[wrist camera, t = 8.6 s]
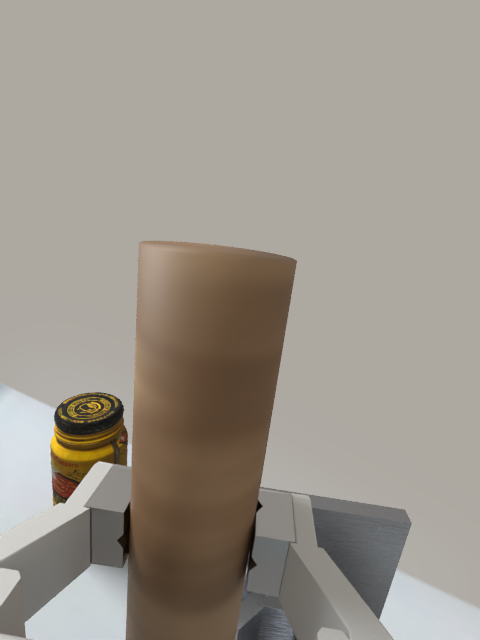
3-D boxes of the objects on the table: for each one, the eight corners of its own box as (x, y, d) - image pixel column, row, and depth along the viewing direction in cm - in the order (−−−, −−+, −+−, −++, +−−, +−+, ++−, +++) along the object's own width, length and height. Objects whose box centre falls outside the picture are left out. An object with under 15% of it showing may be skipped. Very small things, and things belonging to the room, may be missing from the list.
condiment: (34, 555, 27) (25, 429, 24) (71, 478, 35) (68, 375, 32) (126, 552, 28) (130, 431, 25) (141, 478, 36) (146, 379, 33)
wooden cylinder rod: (117, 692, 12) (128, 237, 8) (202, 652, 13) (252, 248, 9) (129, 837, 9) (157, 256, 5) (234, 768, 11) (330, 267, 6)
